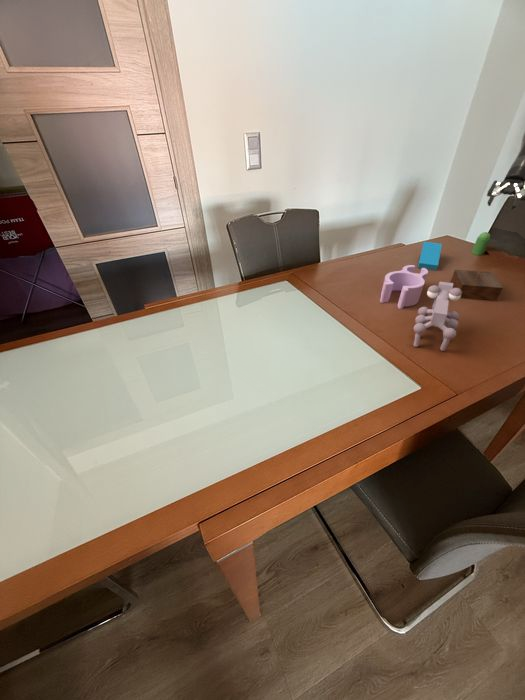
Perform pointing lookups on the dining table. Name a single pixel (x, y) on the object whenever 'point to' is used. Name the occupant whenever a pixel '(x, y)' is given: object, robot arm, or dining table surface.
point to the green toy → (481, 244)
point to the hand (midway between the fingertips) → (500, 206)
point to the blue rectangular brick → (430, 255)
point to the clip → (404, 285)
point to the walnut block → (477, 284)
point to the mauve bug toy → (439, 313)
